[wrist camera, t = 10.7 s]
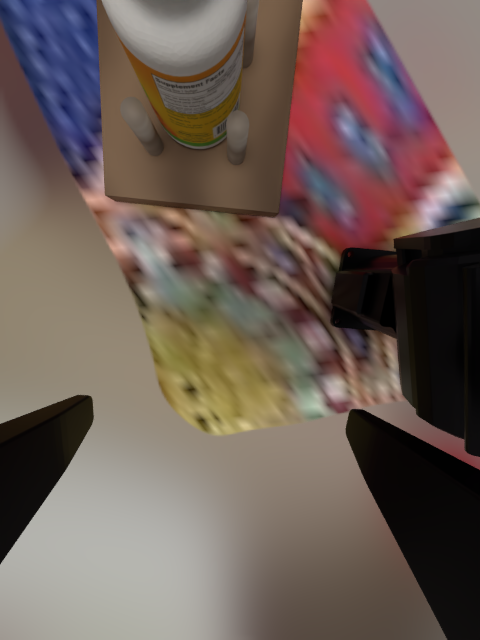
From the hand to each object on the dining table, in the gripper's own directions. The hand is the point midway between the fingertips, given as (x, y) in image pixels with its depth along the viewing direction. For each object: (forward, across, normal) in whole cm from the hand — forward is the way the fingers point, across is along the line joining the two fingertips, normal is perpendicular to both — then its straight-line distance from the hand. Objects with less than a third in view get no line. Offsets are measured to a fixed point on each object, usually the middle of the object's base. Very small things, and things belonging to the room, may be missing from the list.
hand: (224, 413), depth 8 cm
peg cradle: (+12, +3, -15) cm, 19 cm away
